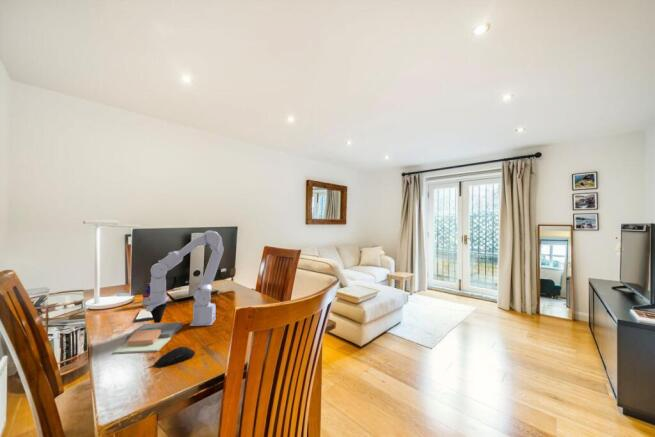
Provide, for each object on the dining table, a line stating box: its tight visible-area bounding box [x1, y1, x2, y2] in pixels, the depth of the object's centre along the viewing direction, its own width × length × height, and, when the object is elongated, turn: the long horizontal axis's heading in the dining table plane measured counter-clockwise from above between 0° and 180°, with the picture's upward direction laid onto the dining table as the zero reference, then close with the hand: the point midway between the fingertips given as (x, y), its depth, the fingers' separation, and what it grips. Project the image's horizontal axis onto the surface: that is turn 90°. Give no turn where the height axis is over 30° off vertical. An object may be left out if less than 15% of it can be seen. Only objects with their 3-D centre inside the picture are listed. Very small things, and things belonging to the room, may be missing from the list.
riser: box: [126, 322, 183, 342], centre depth 107 cm, size 16×12×2 cm
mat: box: [112, 337, 172, 355], centre depth 96 cm, size 15×10×1 cm, turn 98°
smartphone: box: [134, 309, 154, 323], centre depth 127 cm, size 9×2×16 cm
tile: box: [126, 329, 161, 345], centre depth 99 cm, size 9×6×2 cm, turn 98°
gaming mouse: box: [145, 346, 196, 369], centre depth 87 cm, size 6×15×4 cm, turn 133°
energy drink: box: [142, 285, 150, 308], centre depth 142 cm, size 5×5×12 cm
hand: (157, 322), depth 109 cm, fingers closed
